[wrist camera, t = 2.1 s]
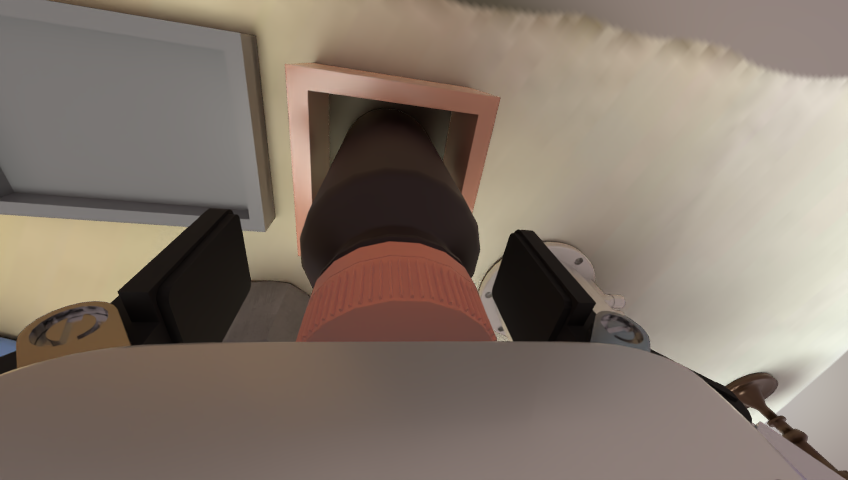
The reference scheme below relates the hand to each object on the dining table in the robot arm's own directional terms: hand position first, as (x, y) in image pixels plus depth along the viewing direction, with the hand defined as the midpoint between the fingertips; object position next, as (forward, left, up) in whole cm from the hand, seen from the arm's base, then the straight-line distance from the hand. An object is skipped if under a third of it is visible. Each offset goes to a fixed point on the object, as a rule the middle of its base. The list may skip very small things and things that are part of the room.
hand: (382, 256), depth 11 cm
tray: (+18, 0, -15) cm, 23 cm away
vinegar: (0, 0, -16) cm, 16 cm away
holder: (0, 0, -15) cm, 15 cm away
